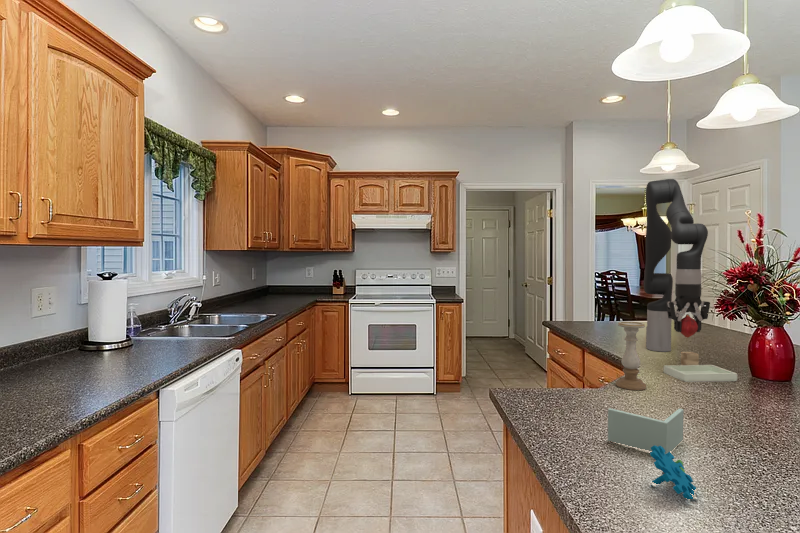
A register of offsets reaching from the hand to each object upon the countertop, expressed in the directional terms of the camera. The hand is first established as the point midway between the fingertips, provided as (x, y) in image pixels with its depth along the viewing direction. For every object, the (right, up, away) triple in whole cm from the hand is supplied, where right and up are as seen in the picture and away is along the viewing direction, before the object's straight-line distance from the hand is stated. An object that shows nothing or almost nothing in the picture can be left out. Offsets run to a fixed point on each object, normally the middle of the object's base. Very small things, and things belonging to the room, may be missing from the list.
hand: (687, 331), depth 156 cm
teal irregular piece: (-49, -19, -73) cm, 90 cm away
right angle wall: (-42, -18, -52) cm, 69 cm away
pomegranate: (0, -2, 0) cm, 2 cm away
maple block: (+10, -15, +15) cm, 23 cm away
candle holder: (-25, -16, -10) cm, 31 cm away
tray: (+4, -16, +1) cm, 16 cm away
